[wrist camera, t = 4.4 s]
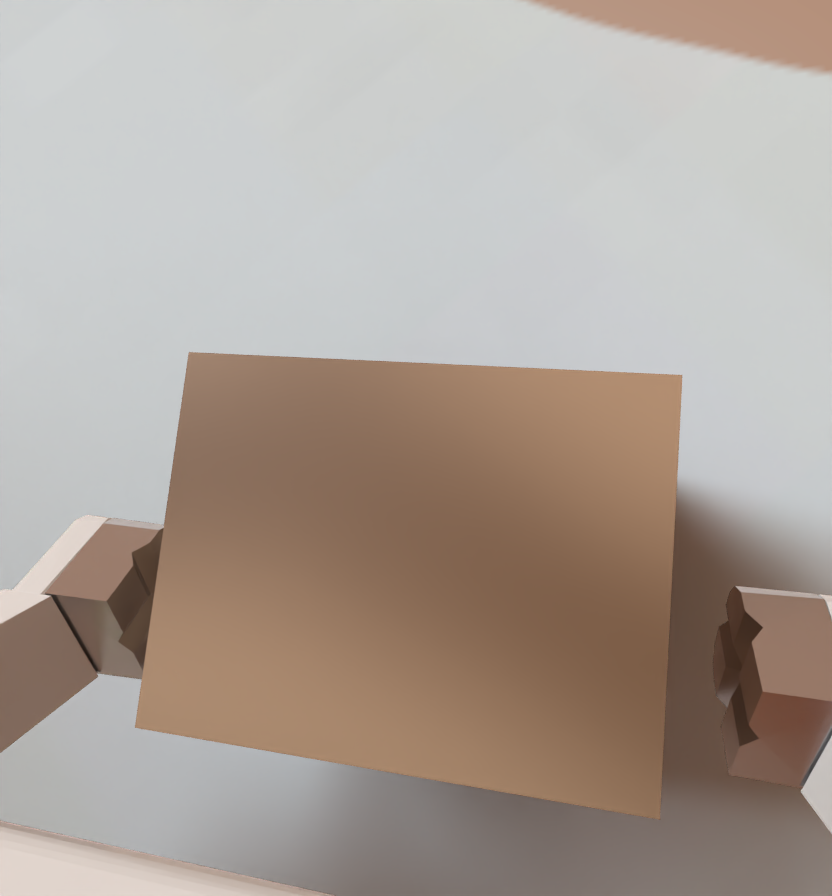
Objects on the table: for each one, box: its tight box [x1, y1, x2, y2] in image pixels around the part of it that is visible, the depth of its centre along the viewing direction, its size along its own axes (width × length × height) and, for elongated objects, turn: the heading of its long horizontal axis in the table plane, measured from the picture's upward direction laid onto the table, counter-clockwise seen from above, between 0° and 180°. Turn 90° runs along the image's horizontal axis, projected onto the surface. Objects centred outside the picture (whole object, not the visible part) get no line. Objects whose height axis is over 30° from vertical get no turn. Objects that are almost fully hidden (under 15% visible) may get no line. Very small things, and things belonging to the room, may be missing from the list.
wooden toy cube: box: [135, 352, 682, 820], centre depth 11 cm, size 5×6×7 cm
